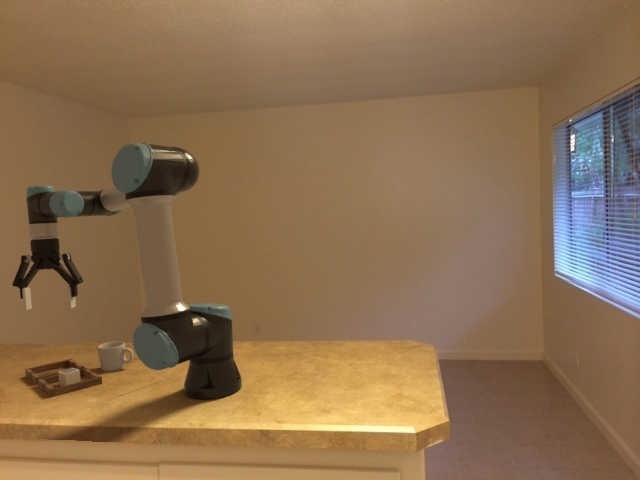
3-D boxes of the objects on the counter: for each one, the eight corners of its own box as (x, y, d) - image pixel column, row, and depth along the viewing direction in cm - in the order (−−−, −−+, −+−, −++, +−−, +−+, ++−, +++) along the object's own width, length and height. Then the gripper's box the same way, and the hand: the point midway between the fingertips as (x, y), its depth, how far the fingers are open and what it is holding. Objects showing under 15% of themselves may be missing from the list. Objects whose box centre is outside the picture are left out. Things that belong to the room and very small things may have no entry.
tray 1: (85, 375, 150) (84, 366, 150) (37, 387, 141) (36, 378, 141) (71, 366, 159) (70, 358, 159) (25, 377, 150) (25, 369, 150)
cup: (140, 365, 157) (138, 340, 156) (127, 374, 149) (126, 348, 148) (107, 366, 158) (105, 341, 157) (93, 374, 150) (91, 348, 149)
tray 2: (102, 385, 140) (101, 377, 139) (51, 399, 131) (51, 390, 130) (86, 375, 149) (85, 367, 149) (38, 387, 140) (37, 379, 140)
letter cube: (80, 383, 140) (79, 369, 140) (66, 388, 137) (65, 373, 137) (73, 381, 143) (72, 367, 142) (59, 385, 139) (58, 371, 139)
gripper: (91, 235, 151) (97, 304, 152) (11, 239, 151) (17, 307, 153) (79, 237, 143) (84, 309, 144) (-6, 240, 144) (1, 312, 145)
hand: (50, 308), depth 149 cm, fingers open, 13 cm apart
